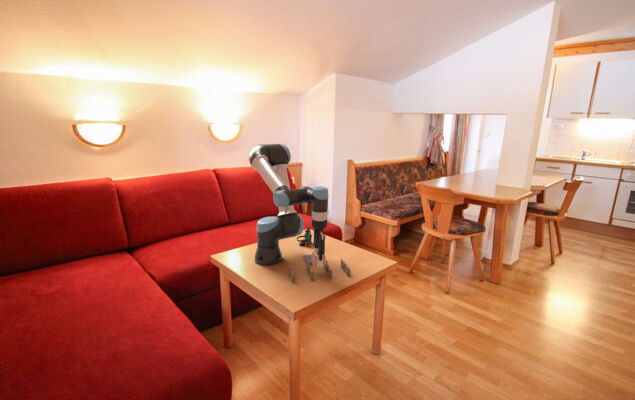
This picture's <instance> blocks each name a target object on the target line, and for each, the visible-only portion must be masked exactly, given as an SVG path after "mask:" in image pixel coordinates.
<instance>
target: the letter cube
mask: <svg viewBox="0 0 635 400" xmlns="http://www.w3.org/2000/svg"><path fill="white" fill-rule="evenodd" d="M317 253H318V251H311V254H312V263H313V267H315V268H316V267H318V266H317ZM325 259H326V254H323V266H322V267H324V266H325Z"/></svg>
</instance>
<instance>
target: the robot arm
mask: <svg viewBox="0 0 635 400" xmlns="http://www.w3.org/2000/svg"><path fill="white" fill-rule="evenodd" d="M248 157H249V158H248V161H249V164H250V166H251V168H252V169H253V170H254V171H257V173H258V174H259V175H260V176H261V178H262V179H263V181H264V182H265V184H266V185H267V186H268V187H269V189H270V191H271V192H272V199H273V203H274V205H275V206H276V207H277V208H278V212H279V213H278V214H277V216H274V215H273V216H266V217H262V218H260V219H259V220H258V221H257V223H256V240H257V241H256V243H257V246H256V249H255V254H254V262H255V263H256V264H259V265H263V266H271V265H277V264H279V263H280V262H282V261H283V254H282V251H281V247H280V243H279V241H280V240H285V239H289V238H295V237H299V236H301V234H302V233H303V231H304V226H305V224H304V223H305V221H304V219H303V216H302V215H300V214H299V213H298V211H297V210H296V209H295V207H294V206H295V205H302V204H303V205H304V204H309V205H311V209H312V210H311V218H312V219H311V227H312V228H313V241H312V245H313V247H314V251H318V253H317V266H316V267H324V266H323V254H325V253H326V252H325V250H326V247H325V246H326V234H325V229H326V228H327V227H328V214H329V210H328V207H329V189H328V188H327V187H326V186H314V187H313V188H312V187H310V186H305V185H302V186H301V187H299V188H295V189H292V188H291V186H290V180H289V177H288V170H287V169H288V167H289V163H290V162H291V159H292V158H291V157H292V155H291V151H290V149H289V148H288V146H287V145H286V144H283V143H271V144H270V143H269V144H267V143H266V144H257V145H255V146H254V147H253V148H252V149H251V151H250V152H249V155H248ZM314 251H313V252H314ZM325 255H326V254H325Z"/></svg>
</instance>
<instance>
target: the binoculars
mask: <svg viewBox="0 0 635 400" xmlns="http://www.w3.org/2000/svg"><path fill="white" fill-rule="evenodd" d="M304 232H305V233H304V235H298V236H296V241H297V243H298V242H299V244H298V245H299V246H306V247H311V245H313V241H312V240H313V234H312V231H311V227H310V226H307V227H306V229H305V230H304ZM300 238H303V239H302V240H300Z"/></svg>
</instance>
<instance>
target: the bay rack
mask: <svg viewBox="0 0 635 400" xmlns="http://www.w3.org/2000/svg"><path fill="white" fill-rule="evenodd" d="M326 261H327V260H326ZM326 261H325V266H323V269H324V271H325V273H326V274H327V276H328V277H329V279H330V280H331V279H333V271H332V269H331V267H330V266H329V264H328V262H327V263H326ZM340 267H341V269H342V270H343V272H344V273H345V275H346V276H347V278H349V277H350V276H351V269H350V267H349V266H348V264H347V263H346V262H345V260H343V259H340ZM306 271H307V274H308V276H309V278H310V281H314V272H313V269H312V268H311V265H309V263H307V264H306ZM288 273H289V277H290V280H291V282H292V284H294V283H295V273H294V270H293V268H292V266H291V264H288Z"/></svg>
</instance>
